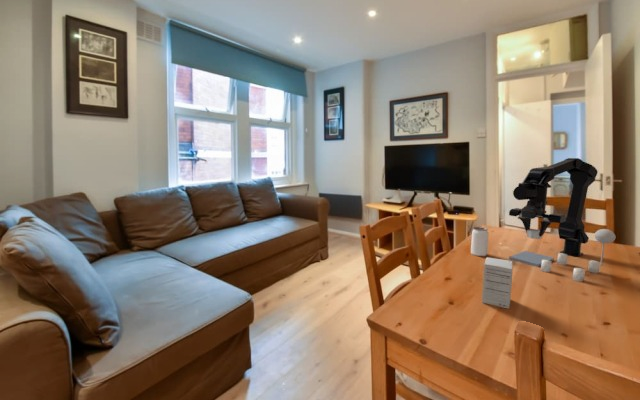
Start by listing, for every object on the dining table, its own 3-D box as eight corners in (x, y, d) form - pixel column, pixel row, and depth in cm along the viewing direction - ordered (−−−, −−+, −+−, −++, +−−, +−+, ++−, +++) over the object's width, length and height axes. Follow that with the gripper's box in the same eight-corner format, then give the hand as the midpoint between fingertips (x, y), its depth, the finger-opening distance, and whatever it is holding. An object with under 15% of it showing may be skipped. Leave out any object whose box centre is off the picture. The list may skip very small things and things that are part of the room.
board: (525, 253, 133) (525, 250, 133) (553, 260, 124) (554, 257, 124) (508, 258, 127) (509, 256, 126) (537, 266, 117) (538, 264, 117)
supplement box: (483, 293, 96) (486, 256, 94) (510, 299, 92) (513, 260, 90) (480, 302, 90) (483, 263, 88) (509, 309, 86) (513, 268, 84)
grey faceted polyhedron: (530, 235, 127) (531, 228, 126) (542, 237, 123) (543, 230, 123) (524, 237, 124) (525, 230, 124) (536, 239, 120) (537, 232, 120)
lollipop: (607, 263, 119) (612, 228, 117) (614, 268, 114) (619, 231, 112) (588, 261, 122) (592, 226, 120) (593, 266, 117) (598, 230, 114)
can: (489, 257, 129) (490, 230, 127) (473, 256, 131) (474, 230, 129) (483, 252, 136) (485, 227, 134) (468, 251, 137) (470, 226, 135)
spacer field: (559, 261, 122) (560, 252, 122) (600, 272, 111) (601, 262, 110) (539, 270, 114) (540, 260, 113) (581, 282, 103) (582, 271, 102)
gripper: (503, 197, 125) (500, 233, 127) (555, 203, 109) (551, 243, 111) (517, 195, 131) (514, 229, 133) (568, 200, 115) (564, 239, 117)
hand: (534, 234), depth 123 cm, fingers closed on grey faceted polyhedron, 4 cm apart
